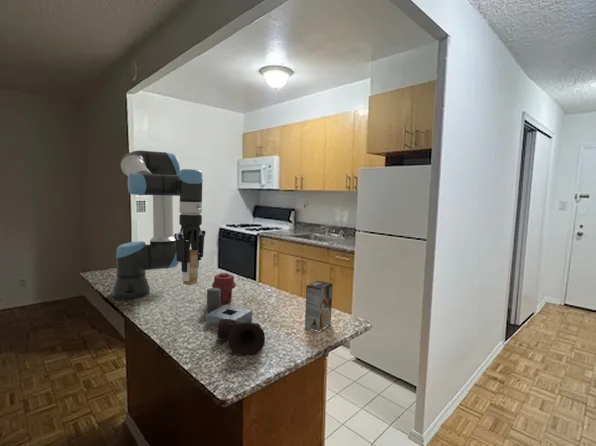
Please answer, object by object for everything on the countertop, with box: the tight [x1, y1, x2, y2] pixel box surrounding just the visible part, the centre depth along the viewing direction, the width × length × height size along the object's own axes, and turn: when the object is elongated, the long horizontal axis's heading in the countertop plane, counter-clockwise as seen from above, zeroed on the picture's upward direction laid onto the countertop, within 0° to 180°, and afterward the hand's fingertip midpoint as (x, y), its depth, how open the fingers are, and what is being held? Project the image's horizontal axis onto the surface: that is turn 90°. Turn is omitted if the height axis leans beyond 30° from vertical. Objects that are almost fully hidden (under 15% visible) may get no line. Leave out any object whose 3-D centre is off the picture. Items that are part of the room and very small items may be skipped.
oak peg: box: [182, 248, 198, 286], centre depth 119 cm, size 3×3×12 cm
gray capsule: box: [206, 287, 221, 314], centre depth 134 cm, size 5×5×9 cm
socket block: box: [205, 304, 253, 329], centre depth 124 cm, size 12×12×4 cm
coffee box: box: [304, 280, 333, 331], centre depth 123 cm, size 9×6×16 cm
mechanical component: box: [211, 272, 237, 305], centre depth 146 cm, size 12×10×10 cm
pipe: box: [217, 319, 266, 357], centre depth 107 cm, size 10×15×15 cm
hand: (190, 279), depth 120 cm, fingers closed on oak peg, 3 cm apart
